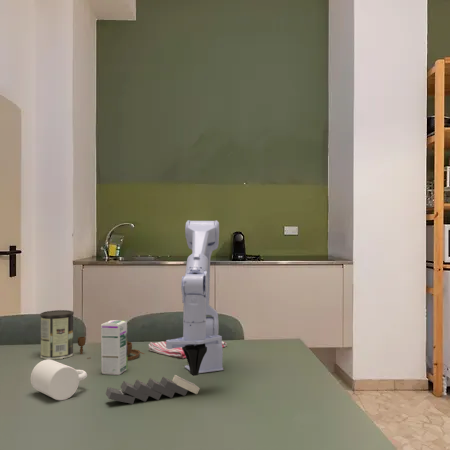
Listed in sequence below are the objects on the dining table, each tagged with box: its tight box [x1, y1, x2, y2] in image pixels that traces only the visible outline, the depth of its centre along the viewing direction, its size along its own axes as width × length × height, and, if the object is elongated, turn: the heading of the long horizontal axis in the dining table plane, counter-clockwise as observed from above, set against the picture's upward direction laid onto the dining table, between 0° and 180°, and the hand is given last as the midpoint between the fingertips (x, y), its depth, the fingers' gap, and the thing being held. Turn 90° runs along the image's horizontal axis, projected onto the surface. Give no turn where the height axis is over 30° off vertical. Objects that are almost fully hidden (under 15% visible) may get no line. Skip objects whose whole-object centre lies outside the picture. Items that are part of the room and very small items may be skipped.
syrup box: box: [100, 319, 129, 376], centre depth 141 cm, size 6×6×14 cm
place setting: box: [77, 336, 145, 362], centre depth 161 cm, size 18×20×6 cm
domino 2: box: [120, 380, 149, 402], centre depth 118 cm, size 2×4×6 cm
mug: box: [30, 359, 88, 401], centre depth 123 cm, size 12×10×8 cm
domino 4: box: [146, 378, 176, 399], centre depth 120 cm, size 2×4×6 cm
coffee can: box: [40, 309, 74, 361], centre depth 159 cm, size 10×10×14 cm
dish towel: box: [148, 340, 228, 360], centre depth 170 cm, size 17×23×4 cm
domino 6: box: [171, 374, 200, 395], centre depth 123 cm, size 2×4×6 cm
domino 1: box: [105, 387, 136, 405], centre depth 116 cm, size 2×4×6 cm
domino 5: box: [159, 376, 189, 397], centre depth 122 cm, size 2×4×6 cm
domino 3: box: [133, 379, 163, 401], centre depth 119 cm, size 2×4×6 cm
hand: (194, 374), depth 124 cm, fingers closed
